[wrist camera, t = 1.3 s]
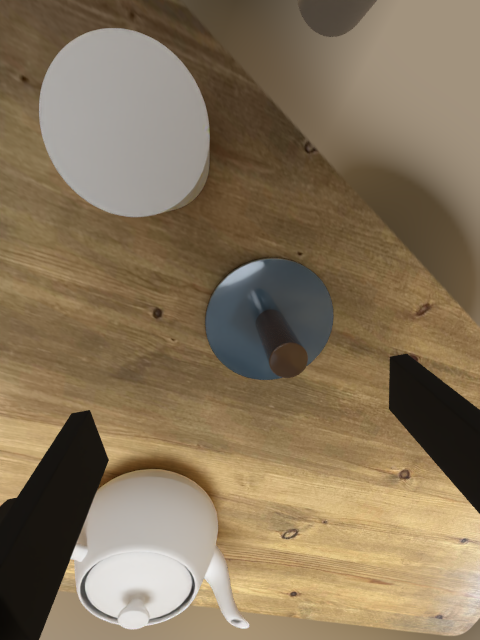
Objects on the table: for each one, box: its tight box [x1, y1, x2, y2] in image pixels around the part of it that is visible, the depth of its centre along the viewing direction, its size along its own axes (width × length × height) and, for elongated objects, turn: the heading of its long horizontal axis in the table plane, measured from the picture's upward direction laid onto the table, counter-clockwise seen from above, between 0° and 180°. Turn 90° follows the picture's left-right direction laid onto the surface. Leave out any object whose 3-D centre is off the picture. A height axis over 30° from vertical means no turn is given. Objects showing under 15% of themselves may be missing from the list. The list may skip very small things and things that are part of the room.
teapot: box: [71, 469, 249, 629], centre depth 35 cm, size 25×16×12 cm, turn 54°
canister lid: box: [205, 258, 333, 380], centre depth 29 cm, size 13×13×9 cm
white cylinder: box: [39, 28, 210, 217], centre depth 22 cm, size 8×8×12 cm
